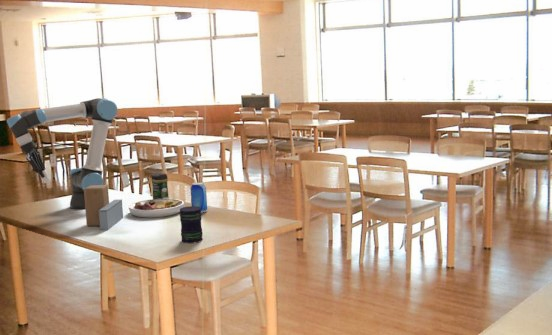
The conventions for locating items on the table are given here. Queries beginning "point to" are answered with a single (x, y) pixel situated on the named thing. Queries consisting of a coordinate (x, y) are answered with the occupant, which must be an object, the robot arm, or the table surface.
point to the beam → (110, 214)
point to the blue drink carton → (199, 196)
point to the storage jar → (191, 224)
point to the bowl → (156, 208)
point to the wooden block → (95, 202)
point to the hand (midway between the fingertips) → (47, 182)
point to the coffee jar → (160, 186)
